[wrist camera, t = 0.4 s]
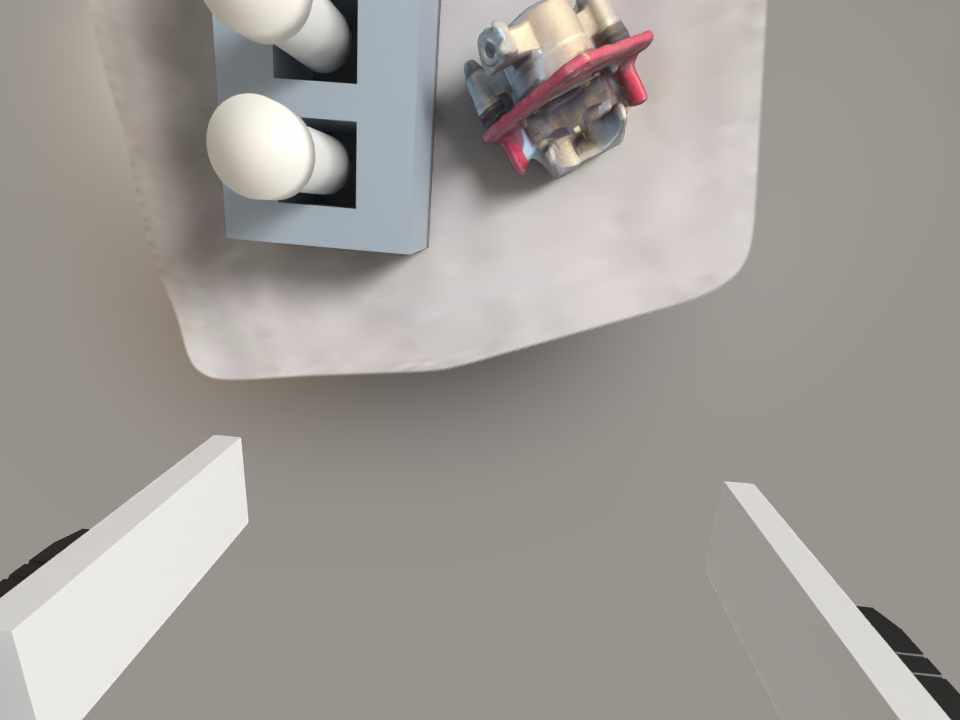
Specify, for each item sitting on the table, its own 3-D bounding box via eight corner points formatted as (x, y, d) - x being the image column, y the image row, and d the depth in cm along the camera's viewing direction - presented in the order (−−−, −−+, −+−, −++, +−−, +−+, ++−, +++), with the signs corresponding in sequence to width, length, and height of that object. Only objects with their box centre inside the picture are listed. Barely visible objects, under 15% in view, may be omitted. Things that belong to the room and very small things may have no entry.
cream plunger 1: (283, -9, 29) (189, -97, 21) (361, -4, 29) (297, -91, 21) (285, 79, 31) (198, 29, 22) (360, 85, 31) (300, 36, 22)
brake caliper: (533, 236, 36) (469, 112, 25) (478, 134, 40) (405, -7, 29) (685, 148, 33) (687, -29, 23) (609, 51, 38) (580, -134, 27)
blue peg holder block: (262, -151, 32) (195, -245, 26) (447, -141, 32) (429, -235, 25) (275, 233, 39) (226, 238, 33) (428, 247, 39) (409, 254, 32)
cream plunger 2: (287, 122, 31) (202, 89, 23) (359, 128, 31) (301, 97, 23) (288, 199, 33) (209, 195, 24) (358, 205, 33) (303, 203, 24)
